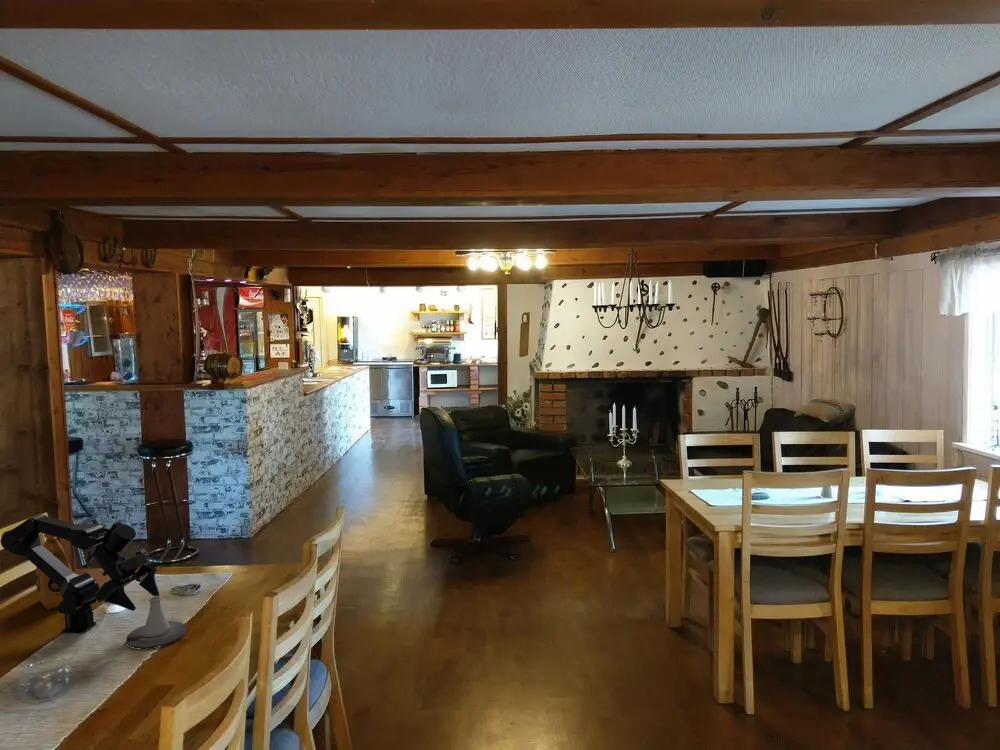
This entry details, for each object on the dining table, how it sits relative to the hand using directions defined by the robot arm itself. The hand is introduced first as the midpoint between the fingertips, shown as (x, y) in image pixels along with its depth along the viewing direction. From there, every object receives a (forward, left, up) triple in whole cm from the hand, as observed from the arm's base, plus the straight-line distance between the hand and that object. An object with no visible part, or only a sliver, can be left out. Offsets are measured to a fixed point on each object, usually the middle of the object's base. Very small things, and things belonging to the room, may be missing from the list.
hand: (146, 603), depth 194 cm
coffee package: (-44, +20, -10) cm, 49 cm away
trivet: (+3, 0, -10) cm, 10 cm away
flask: (+3, 0, -8) cm, 9 cm away
